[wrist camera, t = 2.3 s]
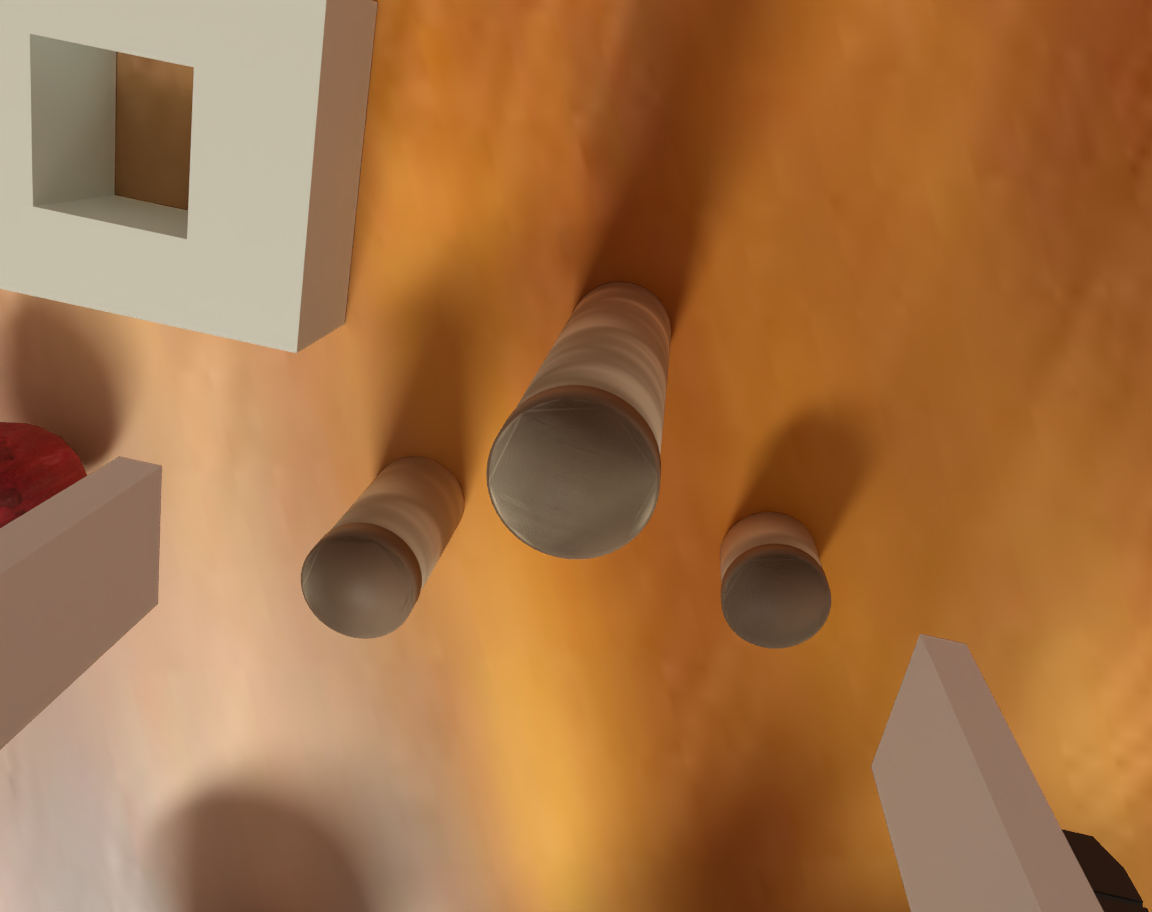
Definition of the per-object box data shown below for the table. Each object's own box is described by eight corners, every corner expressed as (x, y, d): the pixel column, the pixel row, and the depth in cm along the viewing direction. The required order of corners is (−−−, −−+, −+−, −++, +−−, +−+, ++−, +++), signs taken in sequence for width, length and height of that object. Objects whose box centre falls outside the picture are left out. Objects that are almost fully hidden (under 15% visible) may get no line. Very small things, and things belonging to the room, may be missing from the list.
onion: (17, 378, 41) (-134, 437, 33) (140, 435, 41) (18, 507, 34) (-10, 489, 43) (-157, 569, 36) (108, 543, 43) (-14, 633, 36)
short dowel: (829, 522, 39) (844, 565, 35) (802, 608, 40) (814, 658, 37) (732, 501, 39) (735, 542, 35) (708, 587, 41) (710, 635, 37)
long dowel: (682, 292, 36) (677, 417, 21) (659, 392, 38) (639, 575, 23) (578, 270, 37) (501, 379, 22) (559, 371, 38) (474, 538, 23)
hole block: (377, 2, 34) (327, -16, 29) (344, 324, 38) (296, 353, 34) (8, -72, 35) (-99, -101, 30) (16, 253, 39) (-77, 272, 34)
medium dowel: (471, 467, 40) (421, 548, 32) (458, 552, 41) (406, 649, 34) (377, 446, 40) (305, 522, 33) (367, 532, 42) (296, 624, 34)
